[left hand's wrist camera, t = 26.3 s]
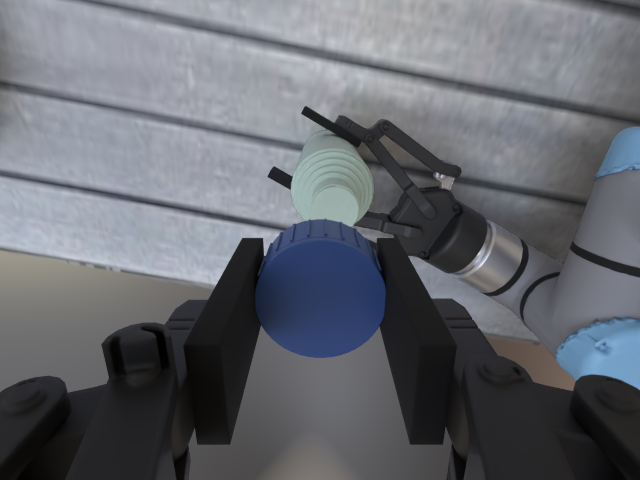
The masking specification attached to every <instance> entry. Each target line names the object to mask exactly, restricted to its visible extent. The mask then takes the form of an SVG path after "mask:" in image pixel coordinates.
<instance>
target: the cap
mask: <svg viewBox="0 0 640 480" xmlns="http://www.w3.org/2000/svg"><path fill="white" fill-rule="evenodd" d="M381 272H382V269H381V266H380V263H379V260H378V258H377V255H376V252H375V250H374V251H373V250H372V248H371V246H370V244H369V242H368V239H367V238H366V239H365V238H364V237H363V236H362V235H361V234H360V233H359V232H357V229H355V228H354V229H353V228H351V227H350V226H348V225H346V224H343V223H342V222H341V221H340V222H337V221H333V220H327V219H325V218H324V219H315V220H311V219H308V221H304V222H301V223H298V224H296V225H295V224H293V226H292V227H290V228H288V229H287V230H285V231H284V232H281V233H280V235H279V236H278V237H277V238H276V239H275V241H274V242H273V243H271V244H270V246H269V249H268V252H267V255H266V256H264V258H263V261H262V264H261V267H260V269H259V272H258V275H257V277H258V281H257V284H256V288H255V307H256V314H257V316H258V319H259V321H260V323H261V325H262V327H263V328H264V330H265V331H266V333H267V334H268V335H269V336H270V337H271V338H272V339H273V340H274V341H275V342H276V343H278V344H279V345H281V346H282V347H284V348H285V349H287V350H289V351H291V352H294V353H296V354H299V355H303V356H308V357H315V358H325V357H333V356H338V355H342V354H345V353H348V352H350V351H352V350H354V349H356V348H358V347H359V346H361V345H362V344H364V343H365V342H366V341H367V340H369V339H370V338H371V337H372V335H373V334H374V333H375V332H376V330H377V329H378V327H379V326H380V324H381V322H382V320H383V317H384V311H385V296H386V287H385V283H384V280H383V277H382V274H381Z"/></svg>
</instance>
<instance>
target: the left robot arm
mask: <svg viewBox="0 0 640 480" xmlns="http://www.w3.org/2000/svg"><path fill="white" fill-rule="evenodd" d="M376 255H377V258H378V260H379V263H380V266H381V269H382V272H381V274H382V277H383V280H384V283H385V287H386V296H385V311H384V317H383V320H382V322H381V324H380V330H381V334H382V337H383V341H384V345H385V349H386V353H387V357H388V361H389V364H390V368H391V372H392V376H393V380H394V384H395V388H396V391H397V395H398V399H399V403H400V407H401V411H402V415H403V418H404V422H405V426H406V430H407V434H408V438H409V442H410V444H443V439H444V433H445V426H446V428H447V431H448V433H449V436H450V438H451V441H452V447H451V453H450V460H449V466H448V472H447V479H446V480H640V390H639V389H638V388H636V387H634V386H632V385H630V384H628V383H626V382H624V381H622V380H619V379H616V378H613V377H609V376H604V375H595V374H590V375H585V376H581V377H580V378H579V379H578V380H577V381H576V383H575V386H574V390H573V391H569V390H565V389H560V388H555V387H550V386H546V385H542V384H538V383H535V382H533V381H532V379H531V377H530V376H529V374H528V373H527V371H526V370H525V369H524V368H522V367H521V366H520V365H518V364H517V363H516V362H514V361H512V360H509V359H507V358H505V357H502V356H498V355H497V354H496V352H495V351H494V349H493V348H492V346H491V345H490V343H489V342H488V341H487V339H486V338H485V336H484V335H483V333H482V332H481V330H480V329H478V326H477V325H476V323H475V322H474V320H472V317H471V316H470V314H469V313H468V311H467V310H466V309H465V307H463V306H462V305H460V304H459V303H457V302H456V301H454V300H453V299H431V297H430V295H429V294H428V292H427V290H426V288H425V286H424V284H423V283H422V281H421V279H420V277H419V275H418V274H417V272H416V270H415V268H414V266H413V265H412V263H411V261H410V259H409V257H408V256H407V254H406V252H405V250H404V248H403V246H402V245H401V243H400V241H399V239H398V238H377V252H376ZM263 258H264V247H263V238H242V240H241V242H240V243H239V245H238V247H237V249H236V251H235V252H234V254H233V256H232V258H231V260H230V261H229V263H228V265H227V267H226V269H225V270H224V272H223V274H222V276H221V278H220V280H219V281H218V283H217V285H216V287H215V289H214V290H213V292H212V294H211V296H210V298H209V299H208V300H188V301H186V302H185V303H183V304H182V305H181V306H179V307H178V308H176V309H175V311H174V312H173V313H172V315H171V316H170V318H169V321H167V322H166V324H165V325H163V324H159V323H140V324H135V325H130V326H128V327H125V328H122V329H120V330H118V331H116V332H115V333H113V334H111V335H110V336H108V337H107V338H106V339H105V341H104V342H103V343H102V349H103V353H104V357H105V362H106V366H107V370H108V375H109V380H108V382H107V384H104V385H101V386H97V387H93V388H88V389H84V390H79V391H74V392H70V393H68V392H67V389H66V385H65V382H63V381H62V380H61V379H60V378H57V377H52V376H43V377H35V378H31V379H28V380H24V381H21V382H18V383H17V384H15V385H12V386H10V387H8V388H6V389H4V390H3V391H2V392H0V480H188V479H189V470H190V453H189V447H188V444H189V441H190V438H191V436H192V433H193V430H194V428H195V431H196V438H197V444H199V445H200V444H202V445H203V444H205V445H207V444H209V445H210V444H212V445H213V444H214V445H217V444H219V445H220V444H230V442H231V439H232V435H233V431H234V427H235V423H236V419H237V416H238V412H239V408H240V404H241V400H242V396H243V392H244V389H245V385H246V381H247V377H248V373H249V369H250V365H251V362H252V358H253V354H254V350H255V346H256V342H257V338H258V335H259V331H260V327H261V323H260V321H259V319H258V316H257V314H256V307H255V288H256V284H257V281H258V277H257V275H258V272H259V269H260V267H261V264H262V261H263Z"/></svg>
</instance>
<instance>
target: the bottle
mask: <svg viewBox="0 0 640 480" xmlns="http://www.w3.org/2000/svg"><path fill="white" fill-rule="evenodd" d="M373 195H374V183H373V178H372V175H371V172H370V170H369V168H368V167H367V165H366V164H365V162H364V161H363V159H362V158H361V157H360V155H359V154H358V152H357V151H356V149H355V148H354V147H353V145H352V144H351V143H349V142H348V141H346V140H344V139H343V138H341V137H339V136H338V135H336V134H334V133H333V132H331V131H329V130H324V131H320V132H317V133H315V134H314V135H312V136H311V137H310V138H309V139H308V140H307V142H306V143H305V145H304V148H303V150H302V153H301V156H300V159H299V161H298V164H297V167H296V170H295V172H294V175H293V178H292V183H291V196H292V201H293V204H294V206H295V208H296V210H297V211H298V213H299V214H300V215H301V217H302V218H303V219H305V220H306V221H308V219H311V220H315V219H324V218H325V219H327V220H333V221H337V222H340V221H341V222H342V223H343V224H346V225H348V226H350V227H352V226H353V225H354V224H355V223H356V222H357V221H359V220H360V219H361V218H362V217H363V216H364V215H365V213H366V212H367V211H368V209H369V207H370V205H371V203H372V199H373Z"/></svg>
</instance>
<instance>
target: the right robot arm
mask: <svg viewBox="0 0 640 480" xmlns="http://www.w3.org/2000/svg"><path fill="white" fill-rule="evenodd" d="M301 114H303V115H304V116H306V117H308V118H309V119H311V120H313V121H314V122H316V123H318V124H319V125H321V126H323V127H324V128H326V129H328V130H329V131H331V132H333V133H334V134H336V135H338V136H339V137H341V138H343V139H344V140H346V141H348V142H349V143H351V144H353V145H354V146H356V147H359V145H360V143H361V142H364V143H365V144H366V145H367V146H368V148H369V149H370V150H371V151H372V152H373V154H374V155H375V156H376V157H377V159H378V160H379V161H380V162H381V164H382V165H383V166H384V167H385V168H386V170H387V171H388V172H389V173H390V175H391V176H392V177H393V178H394V179H395V181H396V182H397V183H398V184H399V186H400V187H401V188H402V189H403V191H404V193H403V195H402V196H401V198H400V200H399V203H398V205H397V206H396V207H395V208H394V209H393V210H392V211H391V213H390V214H384V213H380V214H378V213H373V212H368V211H367V212H366V213H365V215H364V216H363V217H362V218H361V219H360V220H359V221H357V222H356V223H355V224H354V226H359V227H365V228H370V229H375V230H380V231H382V232H384V233H389V234H393V236H394V238H398V239H399V241H400V243H401V245H402V246H403V248H404V250H405V252H406V254H407V256H416V257H419V258H420V259H422V260H424V261H426V262H428V263H429V264H431V265H433V266H435V267H436V268H438V269H440V270H442V271H444V272H445V273H450V274H451V275H452V276H453V277H454V278H456V279H458V280H460V281H462V282H463V283H465V284H467V285H469V286H471V287H472V288H474V289H476V290H478V291H480V292H481V293H483V294H485V295H487V296H489V297H491V298H492V299H494V300H496V301H497V302H499V303H501V304H502V305H504V306H506V307H507V308H509V309H510V310H511V311H512V312H513V313H514V314H515V315H516V316H517V317H518V318H519V319H520V320H521V321H522V322H523V324H524V325H525V326H526V327H528V328H529V329H530V330H531V331H532V332H533V333H534V334H535V335H536V336H537V338H538V339H539V340H540V341H541V342H542V344H543V345H544V346H545V347H546V348H547V350H548V351H549V352H550V353H551V354H552V355H553V357H554V358H555V359H556V361H557V363H558V364H559V365H560V366H561V367H562V368H563V369H564V370H565V371H566V372H567V373H568V374H569V375H570V376H572V377H573V378H574V379H575V380H576V381H577V380H578V379H579V378H580V377H581V376H585V375H590V374H595V375H604V376H609V377H613V378H616V379H619V380H622V381H624V382H626V383H628V384H630V385H632V386H634V387H636V388H638V389H639V390H640V127H629V128H626V129H624V130H622V131H620V132H619V133H618V134H617V135H616V136H615V138H614V139H613V141H612V143H611V146H610V148H609V150H608V152H607V154H606V156H605V158H604V160H603V163H602V165H601V167H600V169H599V171H598V173H597V174H596V175H595V176H594V180H595V182H594V185H593V188H592V191H591V193H590V196H589V199H588V202H587V205H586V208H585V210H584V213H583V216H582V219H581V222H580V224H579V227H578V230H577V233H576V236H575V238H574V240H573V242H572V245H571V247H570V249H569V251H568V254H567V257H566V259H565V262H564V264H563V263H560V262H558V261H556V260H555V259H553V258H551V257H550V256H548V255H546V254H545V253H543V252H541V251H539V250H538V249H536V248H534V247H532V246H531V245H529V244H527V243H525V242H524V241H522V240H521V239H519V238H518V237H517V236H515V235H513V234H512V233H510V232H508V231H507V230H505V229H504V228H502V227H500V226H499V225H497V224H495V223H494V222H492V221H490V220H486V219H485V218H484V217H483V216H482V215H480V214H479V213H477V212H475V211H474V210H472V209H471V208H469V207H467V206H466V205H464V204H462V203H461V202H459V201H457V200H456V199H455V198H454V196H453V194H452V193H451V191H450V189H451V186H452V184H453V181H454V179H455V178H456V177H458V176H460V174H461V168H460V167H458V166H456V165H454V164H452V163H450V162H446V161H443V160H439V159H438V158H437V157H435V156H434V155H433V154H431V153H430V152H429V151H427V150H426V149H425V148H424V147H422V146H421V145H420V144H418V143H417V142H416V141H414V140H413V139H412V138H411V137H409V136H408V135H407V134H405V133H404V132H403V131H401V130H400V129H399V128H397V127H396V126H395V125H394V124H392V123H391V122H390V121H388V120H384V119H381V120H379V121H378V122H377V123H376V124H375V125H374V126H373V127H371V128H369V129H366V128H363V127H362V126H360V125H358V124H357V123H355V122H353V121H352V120H350V119H349V118H347V117H345V116H342V115H339V116H338V118H337V119H336V121H335V123H333V122H331V121H330V120H328V119H326V118H325V117H323V116H321V115H320V114H318V113H317V112H315V111H313V110H312V109H310V108H308V107H307V106H305V107H304V109H303V111H302V113H301ZM384 134H385V135H386V136H387V137H389V138H390V139H391V140H392V141H394V142H395V143H396V144H398V145H399V146H400V147H402V148H403V149H404V150H406V151H407V152H408V153H410V154H411V155H412V156H414V157H415V158H416V159H418V160H419V161H420V162H422V163H423V164H424V165H426V166H427V167H429V168H430V169H432V170H433V171H434V173H433V176H434V178H435V179H437V180H438V181H439V186H438V187H428V188H417V187H416V185H415V184H414V183H413V182H412V181H411V180H410V178H409V177H408V176H407V175H406V173H405V172H404V171H403V170H402V168H401V167H400V166H399V165H398V163H397V162H396V161H395V160H394V158H393V157H392V156H391V155H390V153H389V152H388V151H387V150H386V148H385V147H384V146H383V145H382V143H381V142H380V141H379V140H378V139H380V138H381V137H382V136H383V135H384ZM268 177H269V178H270V179H272V180H274V181H276V182H278V183H279V184H281V185H283V186H285V187H287V188H288V189H290V190H291V183H292V178H293V177H292V176H290V175H288V174H287V173H285V172H283V171H281V170H280V169H278V168H276V167H273V168H272V169H271V171H270V173H269V175H268ZM365 239H366V238H365ZM368 242H369V244H370V246H371V248H372V250H373V251H374V250H375V252H377V243H375V242H373V241H370V240H368Z"/></svg>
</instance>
